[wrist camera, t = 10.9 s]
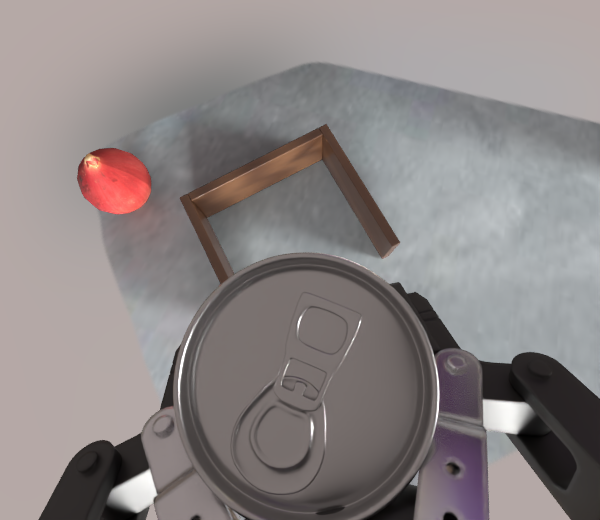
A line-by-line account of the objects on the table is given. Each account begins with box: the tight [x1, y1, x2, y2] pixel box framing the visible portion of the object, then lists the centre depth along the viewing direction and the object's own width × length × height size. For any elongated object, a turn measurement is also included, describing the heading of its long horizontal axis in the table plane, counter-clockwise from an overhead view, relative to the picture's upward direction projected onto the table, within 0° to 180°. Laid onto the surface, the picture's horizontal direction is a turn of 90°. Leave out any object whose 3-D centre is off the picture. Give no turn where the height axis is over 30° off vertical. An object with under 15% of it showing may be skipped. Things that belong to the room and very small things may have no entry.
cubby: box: [180, 124, 400, 284], centre depth 31 cm, size 15×13×4 cm
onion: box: [77, 148, 151, 214], centre depth 31 cm, size 6×6×8 cm
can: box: [173, 253, 439, 520], centre depth 13 cm, size 6×6×12 cm
